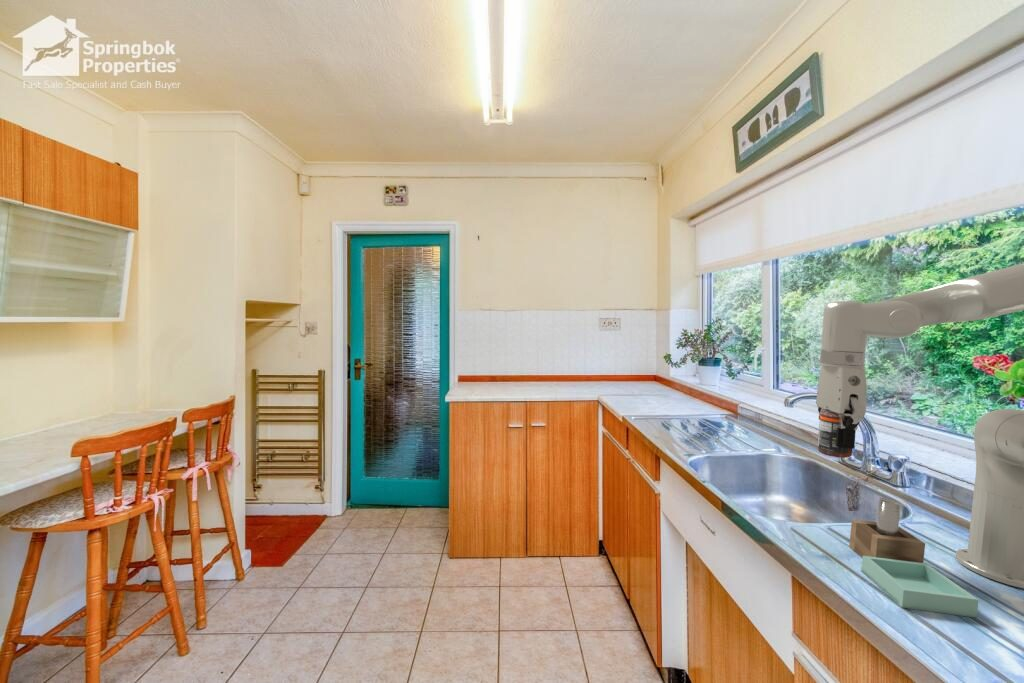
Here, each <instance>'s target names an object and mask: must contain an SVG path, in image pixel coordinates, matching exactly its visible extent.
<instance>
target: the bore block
mask: <svg viewBox="0 0 1024 683" xmlns="http://www.w3.org/2000/svg"><path fill="white" fill-rule="evenodd" d="M850 523H851V524H850V525H851V526H850V527H851V528H850V535H849V536H850V538H849V549H850V550H852V551H853V552H854V553H856V554H857V555H858V556H859V557H861V558H862V556H869V557H877V558H886V559H894V560H902V561H911V562H919V563H924V560H925V548H926V543H925V542H923V541H922V540H921V539H919V538H918V537H916V536H914V535H913V534H911V533H910V532H908V531H907V530H906V529H903V527H901V526H900V525H899V526H898V535H897V537H894V536H885V535H881V534H879V533H878V532H876V527H877V521H871V520H862V519H853V518H852V519H851V522H850Z"/></svg>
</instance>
